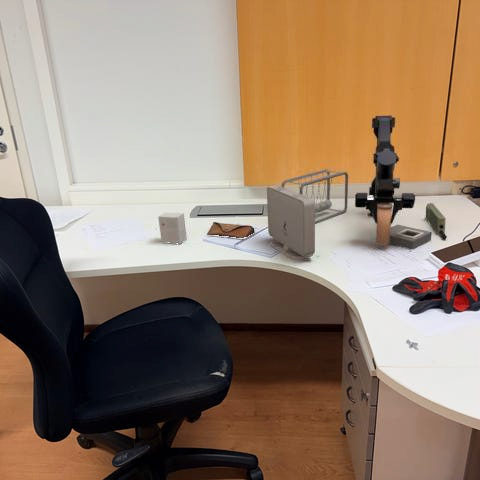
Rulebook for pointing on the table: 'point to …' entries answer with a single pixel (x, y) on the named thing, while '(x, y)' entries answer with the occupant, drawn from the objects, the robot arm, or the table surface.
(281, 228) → the network device
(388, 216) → the plug
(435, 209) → the handheld radio
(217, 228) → the sunglasses case
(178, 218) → the small box
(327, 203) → the newton's cradle
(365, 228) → the table surface
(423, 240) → the block
